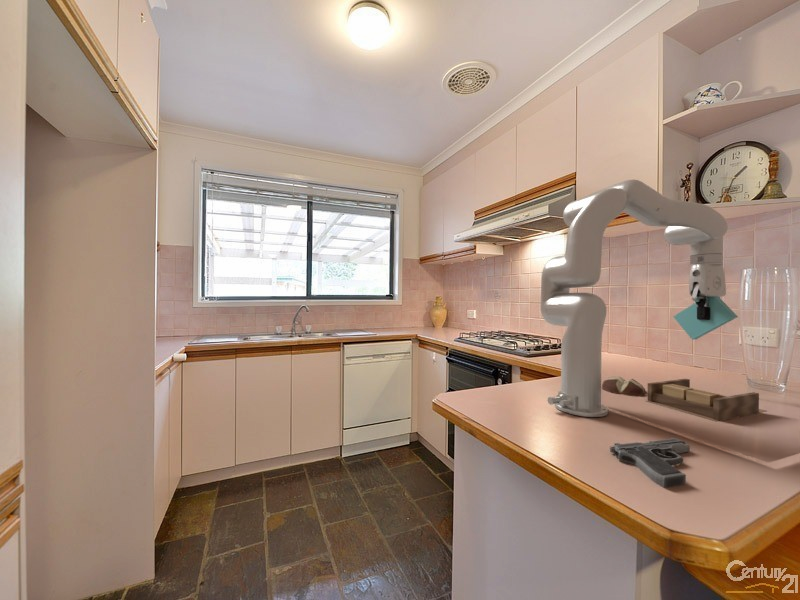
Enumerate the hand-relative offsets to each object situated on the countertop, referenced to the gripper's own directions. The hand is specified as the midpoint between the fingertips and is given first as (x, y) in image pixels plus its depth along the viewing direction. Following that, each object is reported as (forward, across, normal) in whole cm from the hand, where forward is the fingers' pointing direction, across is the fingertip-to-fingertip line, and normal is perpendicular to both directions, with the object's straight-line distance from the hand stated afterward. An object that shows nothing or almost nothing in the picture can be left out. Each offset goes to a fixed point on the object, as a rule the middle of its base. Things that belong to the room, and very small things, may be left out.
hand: (706, 319), depth 101 cm
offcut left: (+23, -23, -6) cm, 33 cm away
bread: (+24, -24, +9) cm, 35 cm away
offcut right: (+23, -23, -11) cm, 34 cm away
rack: (+24, -17, -8) cm, 30 cm away
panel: (+3, 0, +6) cm, 7 cm away
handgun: (+24, -58, -25) cm, 68 cm away
